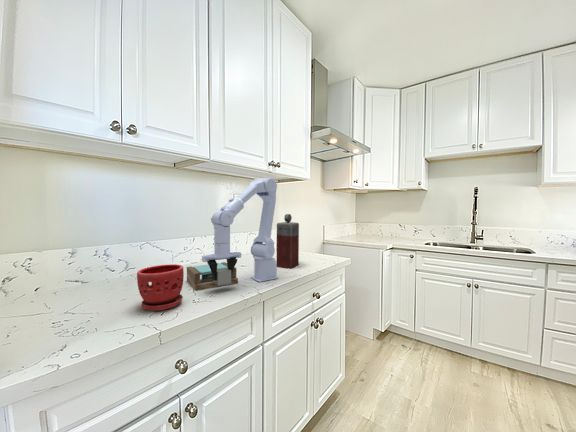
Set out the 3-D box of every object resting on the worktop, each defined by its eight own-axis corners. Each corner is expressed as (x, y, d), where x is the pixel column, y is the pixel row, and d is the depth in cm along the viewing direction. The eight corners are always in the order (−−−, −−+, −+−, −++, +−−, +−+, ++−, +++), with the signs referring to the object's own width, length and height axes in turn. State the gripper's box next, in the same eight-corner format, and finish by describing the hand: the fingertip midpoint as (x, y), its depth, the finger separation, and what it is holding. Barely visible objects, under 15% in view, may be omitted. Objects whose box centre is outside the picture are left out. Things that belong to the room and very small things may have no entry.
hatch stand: (225, 275, 113) (225, 262, 113) (237, 283, 101) (237, 268, 101) (186, 281, 104) (186, 266, 104) (195, 290, 92) (195, 274, 92)
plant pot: (184, 295, 87) (184, 262, 86) (182, 310, 74) (182, 271, 74) (142, 300, 82) (141, 264, 82) (132, 316, 70) (132, 275, 69)
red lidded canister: (280, 263, 139) (281, 213, 138) (298, 265, 134) (299, 214, 133) (272, 266, 131) (272, 213, 130) (291, 268, 126) (291, 214, 125)
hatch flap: (220, 270, 112) (220, 262, 111) (230, 276, 102) (230, 268, 102) (192, 274, 105) (192, 266, 105) (200, 281, 95) (200, 272, 95)
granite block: (226, 280, 96) (226, 267, 96) (231, 283, 92) (231, 270, 92) (213, 282, 93) (213, 269, 93) (218, 285, 89) (218, 272, 89)
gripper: (236, 240, 99) (236, 273, 100) (199, 242, 91) (199, 279, 92) (243, 242, 94) (243, 277, 94) (205, 245, 85) (205, 283, 86)
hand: (222, 278), depth 93 cm, fingers closed on granite block, 5 cm apart
